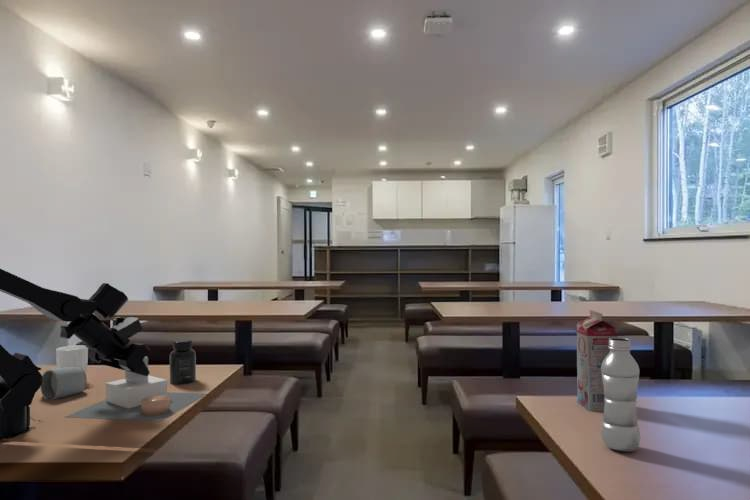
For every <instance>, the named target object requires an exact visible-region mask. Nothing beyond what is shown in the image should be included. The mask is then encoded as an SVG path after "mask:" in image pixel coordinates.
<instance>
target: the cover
mask: <svg viewBox="0 0 750 500" xmlns="http://www.w3.org/2000/svg"><path fill="white" fill-rule="evenodd" d="M143 361H144V363H145V365H146V367H147V368H148V369H149V357H148V356H145V358H144V359H143ZM124 371H125V373H124V374H125V377H124V378H122V379H117V380H112V381H107V382H106V383H105V399H106V401H107V402H110V403H113V404H116V405H119V406H122V407H125V408H131V407H135V406H139V405H141V400H142V399H144V398H147V397H151V396H158V395H165V396H167V392H168V380H167V379H166V378H162V377H157V376H153V375H150V374H148V376H144V375H141V374H137V373H133V372H130V371H126V370H124Z"/></svg>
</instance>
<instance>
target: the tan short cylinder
mask: <svg viewBox="0 0 750 500" xmlns="http://www.w3.org/2000/svg"><path fill="white" fill-rule="evenodd" d="M169 411H170V397H169V396H165V395H158V396H151V397H147V398H144V399H142V400H141V414H142V415H145V416H154V415H161V414H164V413H167V412H169Z"/></svg>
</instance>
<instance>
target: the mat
mask: <svg viewBox="0 0 750 500" xmlns="http://www.w3.org/2000/svg"><path fill="white" fill-rule="evenodd" d="M206 395H208V393H200V392H199V393H197V392H196V393H195V392H171V391H170V392H169V391H167V396H169V397H170V411H169V412H167V413H164V414H161V415H154V416H145V415H142V414H141V405H139V406H135V407H131V408H125V407H122V406H119V405H116V404H113V403H110V402H107V401H106V398H105V399H103V400H101V401H98V402H96V403H94V404H91V405H89V406H87V407H85V408H82V409H79V410H78V411H75V412H73V413H70V414H68V415H66V416H65V418H76V419H99V420H102V419H103V420H121V421H123V420H124V421H143V422H144V421H145V422H146V421H147V422H162V421H164V420H166V419H168V418H170V417H172V415H175V414H176V413H177V412H179V411H181V410H183V409H185V408H186V407H188V406H190V405H192V404H194V403H195V402H197V401H198V400H200V399H202V398H203V397H205V396H206Z"/></svg>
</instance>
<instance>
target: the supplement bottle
mask: <svg viewBox="0 0 750 500" xmlns="http://www.w3.org/2000/svg"><path fill="white" fill-rule="evenodd" d="M192 347H193V341H192V339H189V338H187V339H185V338H183V339H176V340H173V347H172V348H173V350H172V351H171V352H170V353H169V384H170V385H177V386H178V385H189V384H191V383H195V382H196V381H197V368H196V367H197V361H196V360H197V356H196V351H195V350H194V349H193V348H192Z"/></svg>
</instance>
